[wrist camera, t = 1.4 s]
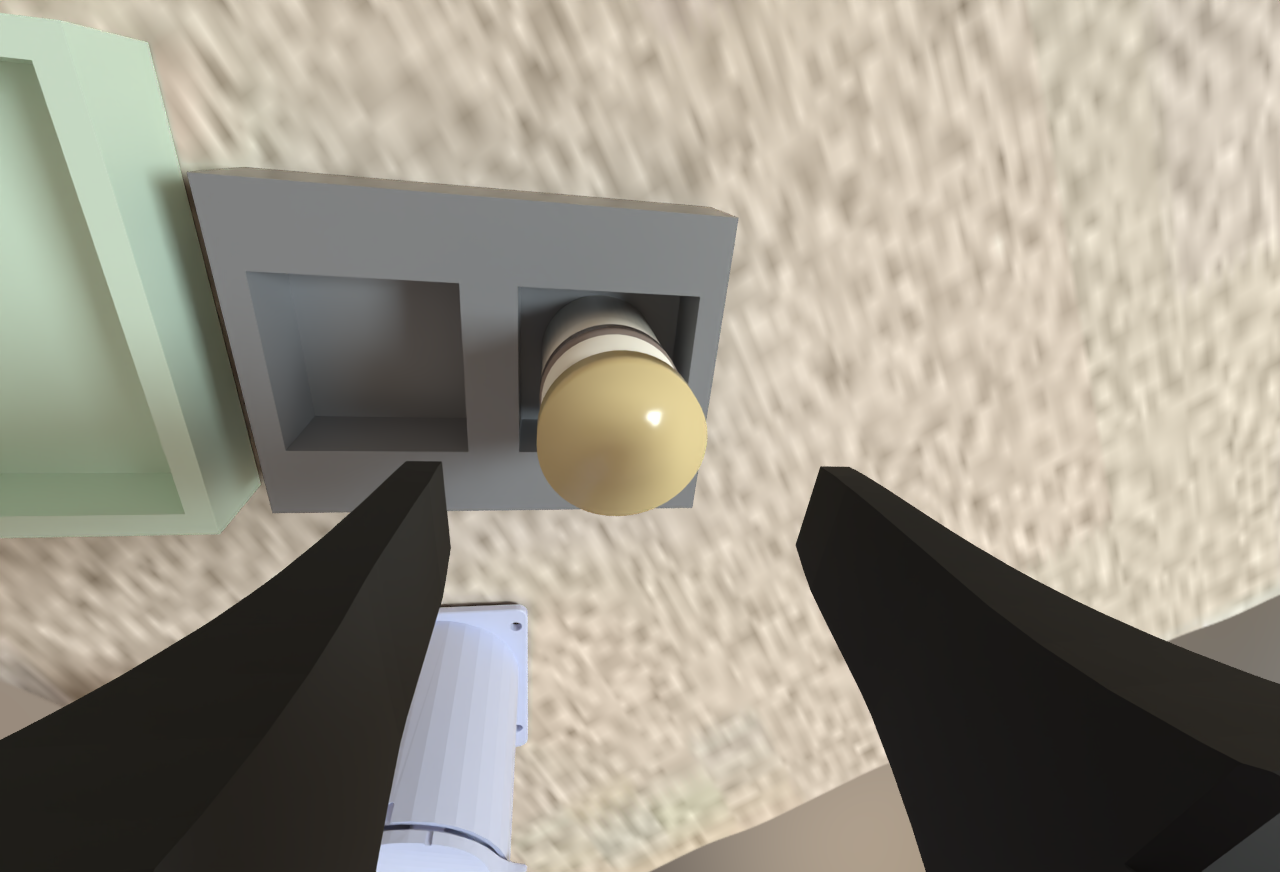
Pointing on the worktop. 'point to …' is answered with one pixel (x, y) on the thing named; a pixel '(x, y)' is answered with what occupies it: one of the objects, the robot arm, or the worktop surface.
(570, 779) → the worktop surface
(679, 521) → the worktop surface
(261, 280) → the fuse block
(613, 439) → the cylinder
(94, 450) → the parts tray
